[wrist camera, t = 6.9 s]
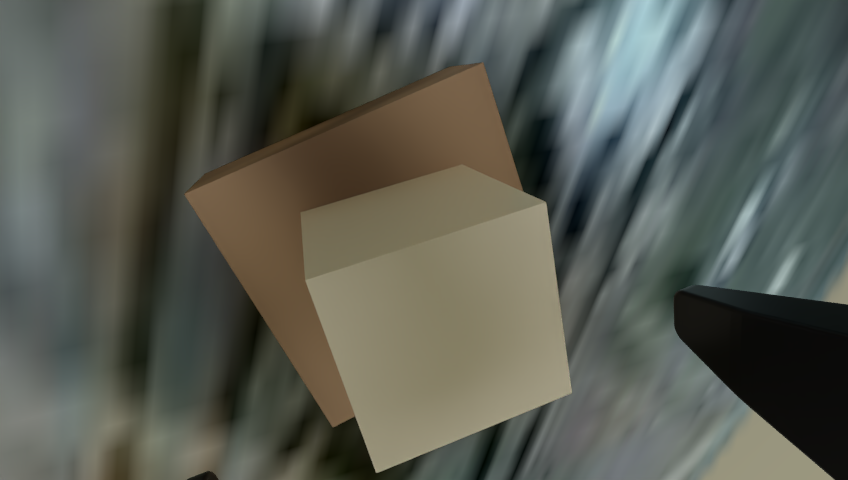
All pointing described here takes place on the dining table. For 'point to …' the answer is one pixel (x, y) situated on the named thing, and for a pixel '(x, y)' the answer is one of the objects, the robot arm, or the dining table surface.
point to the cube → (437, 308)
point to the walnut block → (341, 197)
